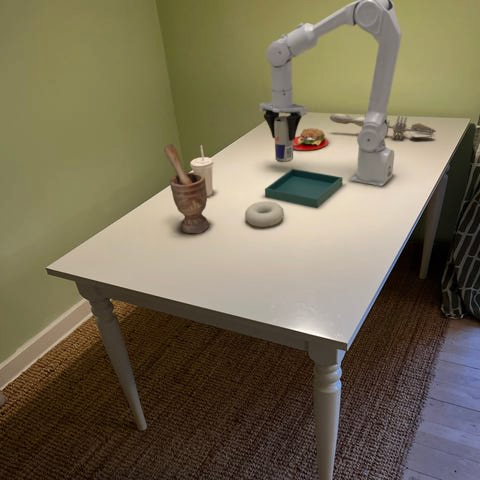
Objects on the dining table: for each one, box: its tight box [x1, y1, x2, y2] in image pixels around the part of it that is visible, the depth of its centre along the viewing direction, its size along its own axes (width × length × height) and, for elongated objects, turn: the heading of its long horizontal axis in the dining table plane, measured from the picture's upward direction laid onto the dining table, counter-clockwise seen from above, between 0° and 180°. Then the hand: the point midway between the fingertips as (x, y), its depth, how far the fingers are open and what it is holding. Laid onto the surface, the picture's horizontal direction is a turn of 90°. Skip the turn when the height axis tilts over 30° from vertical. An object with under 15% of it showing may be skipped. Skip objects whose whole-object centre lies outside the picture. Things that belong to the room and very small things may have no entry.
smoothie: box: [190, 145, 214, 197], centre depth 135 cm, size 6×6×14 cm
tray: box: [264, 168, 344, 209], centre depth 134 cm, size 16×15×2 cm
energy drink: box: [274, 115, 294, 164], centre depth 142 cm, size 5×5×12 cm
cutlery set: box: [329, 113, 437, 140], centre depth 159 cm, size 8×35×8 cm
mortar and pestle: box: [163, 143, 210, 234], centre depth 119 cm, size 12×9×20 cm
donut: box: [244, 200, 285, 228], centre depth 123 cm, size 10×4×10 cm
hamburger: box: [293, 127, 329, 151], centre depth 161 cm, size 14×14×6 cm
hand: (283, 138), depth 142 cm, fingers closed on energy drink, 5 cm apart
